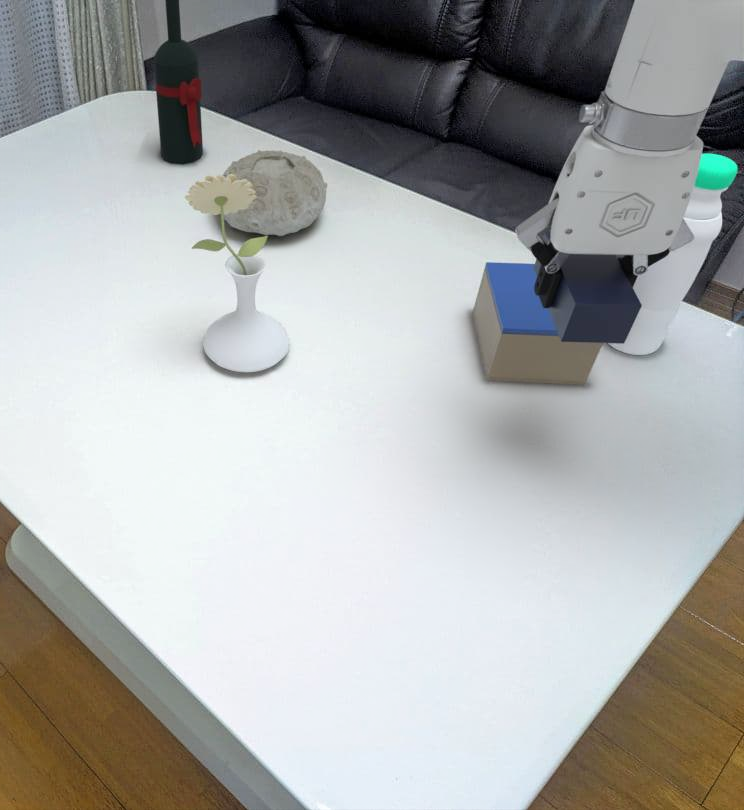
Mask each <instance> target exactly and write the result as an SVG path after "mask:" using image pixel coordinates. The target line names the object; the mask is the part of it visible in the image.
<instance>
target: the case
mask: <svg viewBox="0 0 744 810" xmlns="http://www.w3.org/2000/svg"><path fill="white" fill-rule="evenodd" d="M550 236H551V231H545V232H544V235H543V237H542V239H543V240H544V241H545V243H547V241H548V240H549V239H550ZM534 264H535V265H534V271H535V273H536V276H538V273H539V270H540V267H541V263H540V262H539V261H538V260H537V259H536V258H535V262H534ZM560 271H561V273H562V279H561V282H560V285H559V287H558V290H557V293H556V296H555V299H554V301H553V304H552V307H550V308H549V311H550V313H551V316H552V319H553V321H554V324H555V327H556V329H557V332H558V335H559V337H560V340H561V342H587V343H603V344H608V343H622V344H624V343H625V341H626V339H627V336H628V334H629V332H630V330H631V328H632V326H633V324H634V321H635V319H636V317H637V315H638V313H639V311H640V309H641V306H642V305H641V303H640V301H639V299H638V297H637V295H636V293H635V291H634V289H633V288H632V286H631V284H630V282H629V280H628V278H627V276H626V274H625V272H624V270H623V268H622V266H621V265H620V263H619V261H618V257H617V255H592V254H571V256H570V257H569V258H568V259H567V261H566V262H565V263H564V264H563V265H562V267H561V268H560Z"/></svg>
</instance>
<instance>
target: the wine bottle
mask: <svg viewBox="0 0 744 810" xmlns="http://www.w3.org/2000/svg"><path fill="white" fill-rule="evenodd" d="M165 14H166V28H167V40H166V41H164V42H163V43H162V44H161V45H160V46H159V47H158V49H157V50H156V52H155V54H154V58H153V68H154V80H155V81H154V83H155V91H156V92H155V93H156V106H157V118H158V120H157V121H158V133H159V146H160V156H161V158H162V160H163V161H164V162H166V163H168V164H171V165H189V164H193V163H196V162H197V161H199V160H200V159H202V156H203V155H204V147H203V146H204V145H203V127H202V106H201V98H202V81H201V79H200V67H199V66H200V65H199V56H198V54H197V52H196V49H194V47H193V46H192V45H191V44H190V43H189V42H187V41H186V40H184V39H182V29H181V10H180V0H165Z"/></svg>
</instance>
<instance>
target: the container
mask: <svg viewBox="0 0 744 810" xmlns="http://www.w3.org/2000/svg"><path fill="white" fill-rule="evenodd" d="M481 276H482V277H481V279H480V284H479V288H478V290H477V294H476V298H475V302H474V306H473V309H472V313H471V314H472V318H473V323H474V327H475V332H476V336H477V340H478V341H477V342H478V346H479V351H480V355H481V360H482V363H483V368H484V373H485V377H486V380H487V381H503V382H523V383H541V384H562V385H583V386H585V385H586V382H587V380H588V378H589V376H590V373H591V371H592V369H593V367H594V364H595V362H596V360H597V359H598V356H599V354H600V352H601V349H602V346H603V344H604V343H587V342H561V340H560V337H559V335H538V334H515V333H502V331H501V327H500V323H499V319H498V315H497V312H496V308H495V304H494V300H493V296H492V292H491V288H490V284H489V281H488V277H487V273H486V269H485V268H484V269H483V272H482V275H481Z"/></svg>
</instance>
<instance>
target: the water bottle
mask: <svg viewBox="0 0 744 810" xmlns="http://www.w3.org/2000/svg"><path fill="white" fill-rule="evenodd" d="M738 169H739V167H738V164H737V163H736V162H735V161H734V160H732V159H731V158H729V157H726V156H723V155H720V154H716V153H702V156H701V160H700V165H699V169H698V173H697V177H696V181H695V185H694V188H693V191H692V194H691V198H690V200H689V203H688V206H687V209H686V212H685V214H684V217H683V219H684V220H685V222H686V224H687V225H688V227H689V229H690V230H691V232H692V233H693V235H694V239H693V240H692V241H691V242H690V243H688V244H686V245H684V246H682V247H680V248H678V249H676V250H675V251H671V252H669V254H668V255H667V256H666V257H665V258H663V259H661V260H659V261H658V262H656V263H654V264H652V265H651V266H649V267H648V270H647V272H646V273H644V274H643V275H639V276H638V277H637V279H636V281H635V284H634V286H633V289H634V291H635V293H636V295H637V297H638V299H639V301H640V303H641V305H642V306H641V309H640V311H639V313H638V315H637V317H636V319H635V321H634V324H633V326H632V328H631V330H630V332H629V334H628V336H627V339H626V341H625V343H624V344H622V343H607V344H608V345H609V346H610V347H612V349H614V350H617V351H619V352H621V353H624V354H627V355H633V356H645V355H646V356H647V355H650V354H653V353H654V352H656V351H657V350H659V348H660V347H661V345H662V344H663V341H664V339H665V337H666V336H667V333H668V330H669V327H670V326H671V324H672V323H673V321H674V320H675V318H676V317H677V314H678V312H679V310H680V306H681V303H682V301H684V299H685V297H686V295H687V294H688V292H689V290H690V289H691V287H692V285H693V284H694V282H695V280H696V278H697V277H698V274H699V272H700V270H701V268H702V266H703V264H704V263H705V260H706V258H707V256H708V253H709V251H710V249H711V246H712V244H713V241H714V240H716V238H717V237H718V236H719V234H720V233H721V231H722V228H723V213H722V209H723V202H722V199H721V195H722V193H723V192H725V191H727V190H728V189H729V187H730V186H732V183H733V182H734V180H735V179H736V177H737V174H738Z"/></svg>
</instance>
